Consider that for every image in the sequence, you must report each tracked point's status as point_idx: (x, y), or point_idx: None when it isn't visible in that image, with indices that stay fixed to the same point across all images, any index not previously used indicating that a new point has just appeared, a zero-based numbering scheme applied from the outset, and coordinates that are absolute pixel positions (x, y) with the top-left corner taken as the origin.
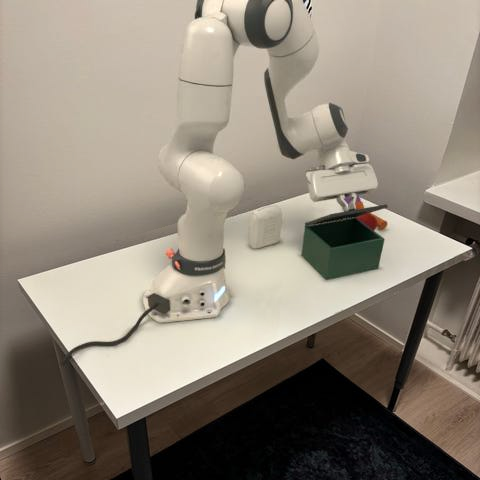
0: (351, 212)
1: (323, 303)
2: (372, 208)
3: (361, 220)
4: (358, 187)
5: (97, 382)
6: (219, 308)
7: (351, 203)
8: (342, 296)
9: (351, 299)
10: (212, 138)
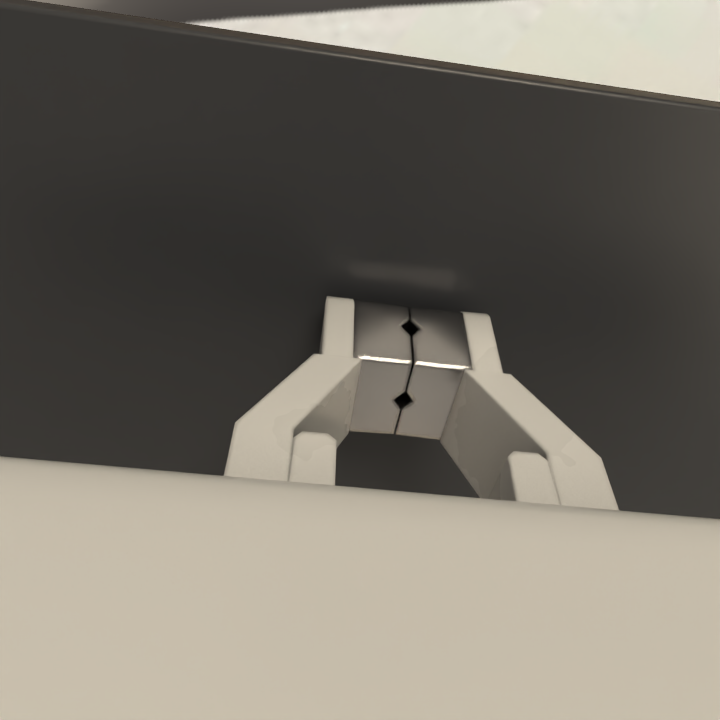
0: (607, 86)
1: (686, 74)
2: (195, 25)
3: None
4: (118, 527)
5: None
6: None
7: (347, 404)
8: (556, 76)
9: (529, 28)
10: None
